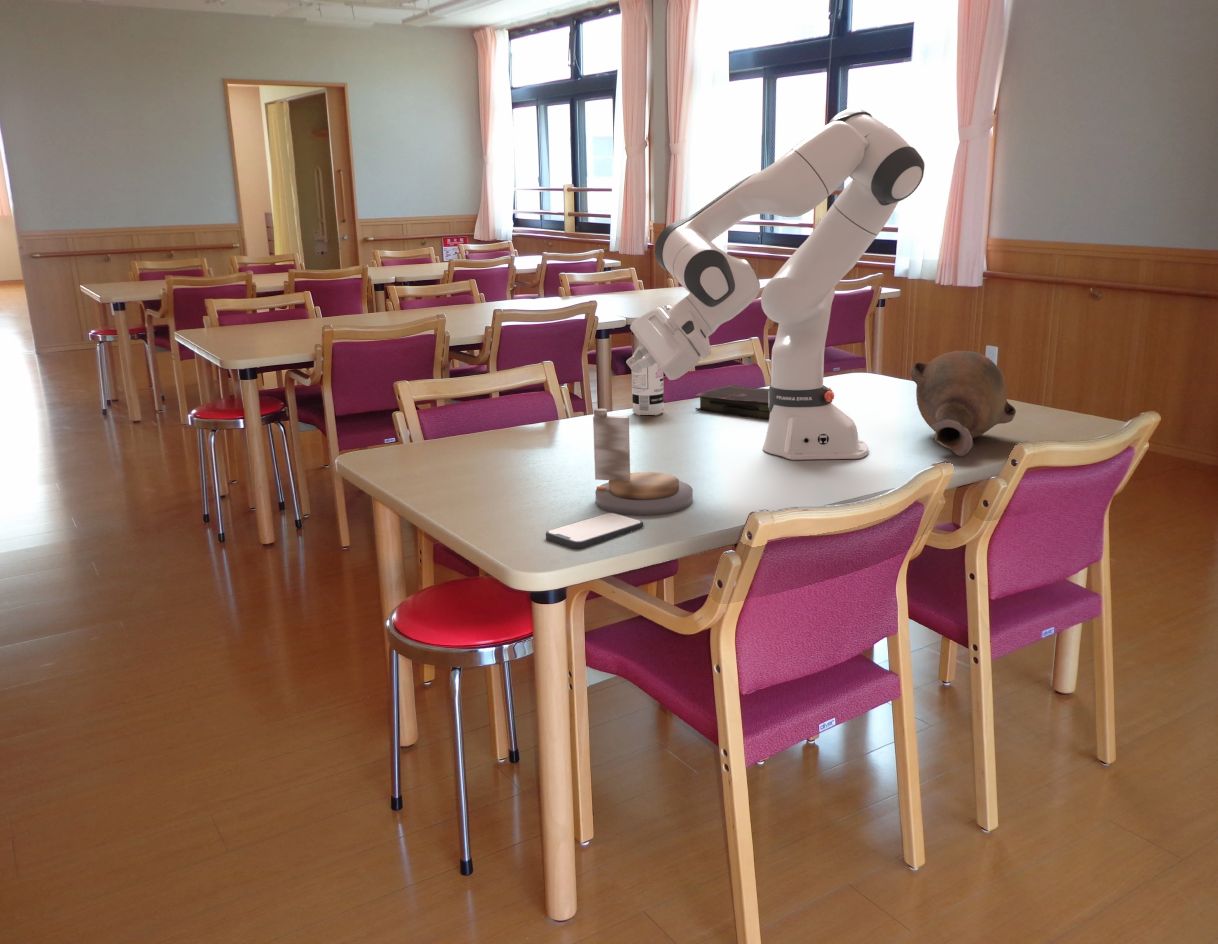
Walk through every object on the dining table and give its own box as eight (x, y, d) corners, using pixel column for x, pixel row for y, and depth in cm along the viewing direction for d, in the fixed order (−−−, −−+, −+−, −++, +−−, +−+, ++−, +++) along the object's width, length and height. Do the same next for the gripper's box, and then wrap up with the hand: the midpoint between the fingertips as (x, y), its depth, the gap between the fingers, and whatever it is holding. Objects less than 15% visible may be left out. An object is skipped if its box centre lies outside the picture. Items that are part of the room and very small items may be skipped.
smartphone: (610, 520, 176) (542, 540, 165) (610, 511, 175) (541, 531, 164) (647, 530, 169) (578, 552, 159) (647, 521, 169) (577, 543, 158)
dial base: (699, 489, 190) (699, 476, 190) (684, 517, 173) (684, 504, 173) (608, 485, 194) (607, 473, 194) (584, 513, 177) (584, 500, 177)
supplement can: (630, 410, 263) (629, 354, 259) (661, 409, 264) (660, 353, 260) (634, 417, 255) (632, 359, 251) (665, 415, 256) (665, 358, 252)
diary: (732, 400, 275) (732, 383, 273) (812, 410, 259) (813, 391, 258) (693, 412, 261) (693, 393, 260) (775, 423, 245) (775, 403, 244)
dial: (686, 481, 187) (685, 405, 183) (669, 501, 175) (668, 420, 172) (606, 477, 192) (604, 402, 188) (585, 496, 180) (582, 417, 176)
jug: (932, 424, 238) (907, 475, 214) (916, 347, 232) (888, 391, 208) (1022, 414, 227) (1006, 466, 203) (1008, 332, 221) (990, 377, 197)
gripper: (660, 291, 199) (605, 333, 200) (699, 336, 183) (639, 381, 184) (674, 313, 203) (621, 354, 204) (714, 358, 187) (655, 402, 188)
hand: (630, 367), depth 194 cm, fingers closed
